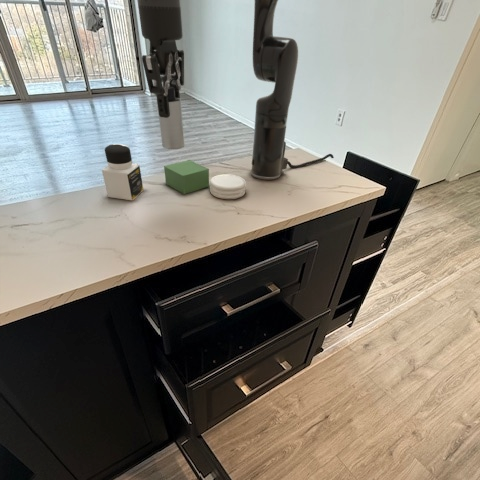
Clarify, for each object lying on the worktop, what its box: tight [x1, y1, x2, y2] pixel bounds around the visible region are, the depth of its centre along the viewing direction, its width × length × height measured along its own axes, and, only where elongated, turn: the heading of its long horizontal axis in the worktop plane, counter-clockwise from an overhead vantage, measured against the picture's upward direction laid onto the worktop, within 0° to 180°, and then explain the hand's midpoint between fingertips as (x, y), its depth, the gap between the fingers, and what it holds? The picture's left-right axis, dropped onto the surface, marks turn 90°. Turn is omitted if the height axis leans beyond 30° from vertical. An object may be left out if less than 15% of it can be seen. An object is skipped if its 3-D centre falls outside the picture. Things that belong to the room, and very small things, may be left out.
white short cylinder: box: [209, 173, 247, 200], centre depth 90 cm, size 10×10×4 cm
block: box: [163, 159, 210, 195], centre depth 91 cm, size 9×9×5 cm
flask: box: [156, 87, 185, 150], centre depth 69 cm, size 5×5×11 cm
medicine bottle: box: [101, 143, 144, 201], centre depth 83 cm, size 7×7×12 cm
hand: (170, 113), depth 69 cm, fingers closed on flask, 5 cm apart
